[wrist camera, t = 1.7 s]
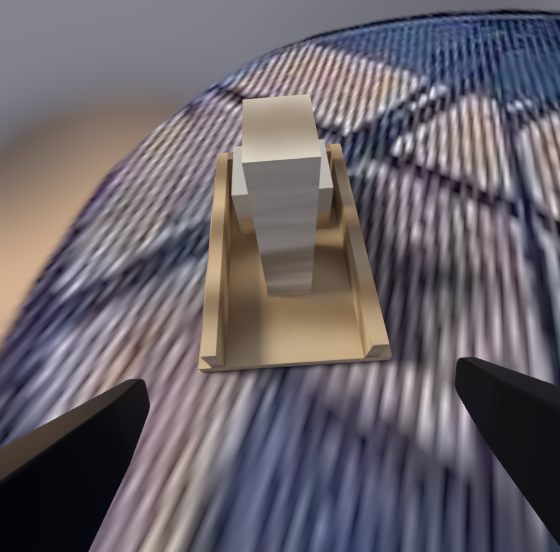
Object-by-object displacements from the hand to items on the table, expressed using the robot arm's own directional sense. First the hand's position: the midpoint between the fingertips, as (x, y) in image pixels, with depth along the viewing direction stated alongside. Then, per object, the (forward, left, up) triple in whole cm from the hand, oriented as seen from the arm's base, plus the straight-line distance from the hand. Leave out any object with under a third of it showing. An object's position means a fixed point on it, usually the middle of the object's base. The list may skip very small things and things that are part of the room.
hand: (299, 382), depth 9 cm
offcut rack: (+12, +8, -14) cm, 19 cm away
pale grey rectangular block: (+10, +6, -13) cm, 17 cm away
